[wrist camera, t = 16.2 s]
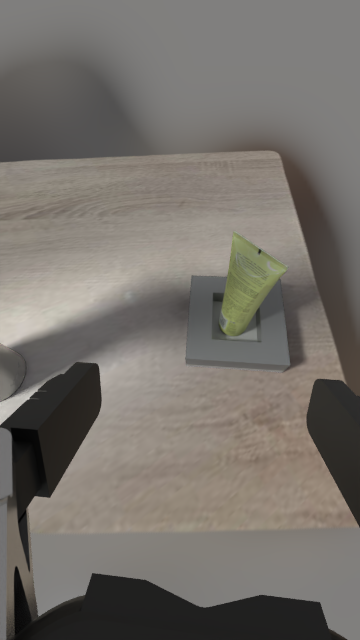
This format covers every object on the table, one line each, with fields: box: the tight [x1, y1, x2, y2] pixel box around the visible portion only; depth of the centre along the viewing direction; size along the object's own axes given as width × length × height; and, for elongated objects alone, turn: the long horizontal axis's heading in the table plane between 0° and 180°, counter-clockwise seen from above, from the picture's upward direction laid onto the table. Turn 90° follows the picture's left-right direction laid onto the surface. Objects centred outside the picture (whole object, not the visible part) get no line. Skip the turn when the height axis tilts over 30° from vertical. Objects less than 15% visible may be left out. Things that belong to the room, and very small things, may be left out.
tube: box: [219, 231, 288, 336], centre depth 37 cm, size 6×5×20 cm
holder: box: [185, 276, 290, 372], centre depth 45 cm, size 16×16×4 cm
